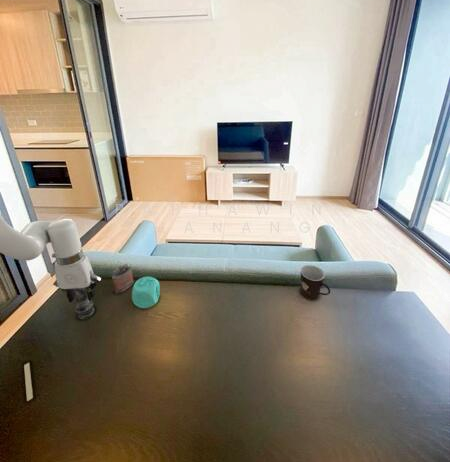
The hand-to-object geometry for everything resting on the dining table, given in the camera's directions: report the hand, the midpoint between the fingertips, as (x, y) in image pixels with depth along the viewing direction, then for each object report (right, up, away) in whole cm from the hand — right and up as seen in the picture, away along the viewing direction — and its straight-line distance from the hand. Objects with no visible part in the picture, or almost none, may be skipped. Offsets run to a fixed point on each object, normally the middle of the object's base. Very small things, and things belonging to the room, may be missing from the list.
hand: (82, 298), depth 86 cm
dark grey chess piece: (0, -7, +3) cm, 7 cm away
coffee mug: (+84, -3, +8) cm, 84 cm away
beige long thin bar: (-4, -15, -18) cm, 24 cm away
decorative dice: (+21, -4, +8) cm, 23 cm away
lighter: (+9, -2, +14) cm, 17 cm away
